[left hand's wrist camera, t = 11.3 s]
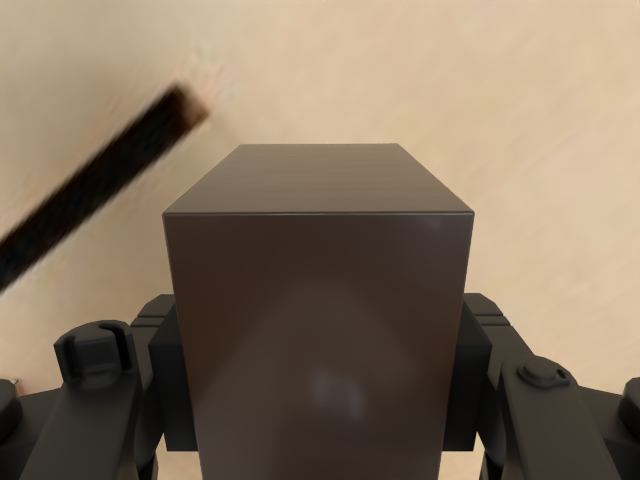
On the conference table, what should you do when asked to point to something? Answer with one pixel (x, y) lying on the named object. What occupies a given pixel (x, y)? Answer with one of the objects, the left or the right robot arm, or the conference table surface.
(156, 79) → the conference table surface
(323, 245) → the beam
